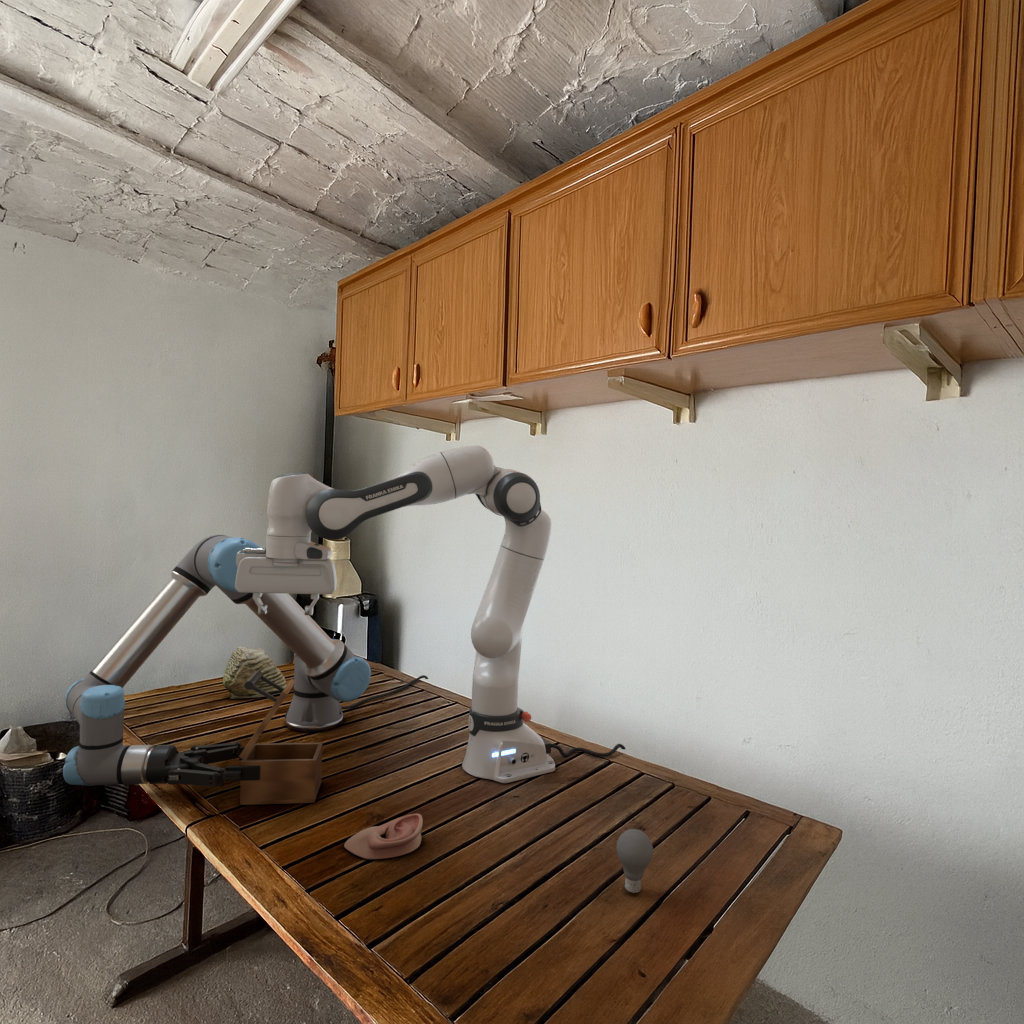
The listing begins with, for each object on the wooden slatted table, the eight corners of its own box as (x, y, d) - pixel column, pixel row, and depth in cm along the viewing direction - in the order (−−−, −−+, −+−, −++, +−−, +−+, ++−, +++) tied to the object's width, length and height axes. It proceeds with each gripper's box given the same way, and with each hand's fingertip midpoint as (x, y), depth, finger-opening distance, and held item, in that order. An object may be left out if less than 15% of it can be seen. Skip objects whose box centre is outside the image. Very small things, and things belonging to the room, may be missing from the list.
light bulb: (610, 879, 108) (613, 822, 108) (644, 879, 109) (647, 822, 109) (619, 902, 102) (622, 840, 102) (655, 901, 103) (658, 840, 103)
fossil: (218, 695, 195) (220, 647, 195) (278, 685, 208) (279, 640, 207) (228, 703, 189) (230, 653, 188) (289, 692, 201) (290, 645, 201)
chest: (321, 782, 140) (322, 742, 140) (314, 802, 131) (315, 760, 131) (251, 784, 138) (253, 743, 138) (239, 805, 129) (241, 761, 129)
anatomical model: (336, 832, 112) (364, 802, 124) (336, 854, 112) (363, 822, 124) (407, 843, 110) (429, 812, 121) (406, 866, 110) (428, 832, 121)
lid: (296, 681, 139) (262, 661, 138) (287, 694, 130) (251, 673, 128) (255, 742, 138) (221, 722, 137) (243, 759, 129) (207, 739, 128)
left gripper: (171, 760, 142) (276, 758, 145) (126, 808, 120) (251, 805, 123) (172, 727, 141) (277, 726, 145) (128, 769, 120) (252, 766, 123)
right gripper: (232, 548, 129) (229, 616, 129) (335, 552, 132) (332, 618, 132) (240, 546, 135) (238, 610, 135) (339, 549, 138) (336, 612, 138)
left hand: (265, 762), depth 134 cm, fingers closed on chest, 9 cm apart
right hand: (285, 614), depth 134 cm, fingers open, 8 cm apart
